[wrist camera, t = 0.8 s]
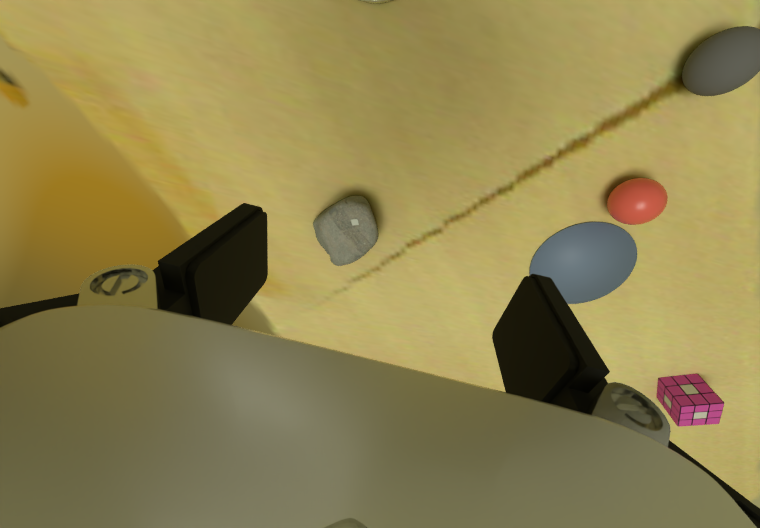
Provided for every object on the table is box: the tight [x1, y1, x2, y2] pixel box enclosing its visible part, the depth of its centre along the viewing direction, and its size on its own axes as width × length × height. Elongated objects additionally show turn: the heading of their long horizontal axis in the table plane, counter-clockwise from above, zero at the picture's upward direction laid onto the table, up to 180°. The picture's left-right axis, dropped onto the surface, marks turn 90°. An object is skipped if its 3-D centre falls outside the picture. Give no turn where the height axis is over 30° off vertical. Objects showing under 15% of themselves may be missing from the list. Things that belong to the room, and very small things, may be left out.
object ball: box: [607, 178, 667, 225], centre depth 36 cm, size 6×6×6 cm
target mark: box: [530, 222, 637, 304], centre depth 44 cm, size 14×14×1 cm
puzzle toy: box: [657, 374, 724, 426], centre depth 51 cm, size 6×6×6 cm
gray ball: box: [682, 26, 760, 96], centre depth 29 cm, size 6×6×6 cm
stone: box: [313, 196, 378, 266], centre depth 44 cm, size 9×9×10 cm
